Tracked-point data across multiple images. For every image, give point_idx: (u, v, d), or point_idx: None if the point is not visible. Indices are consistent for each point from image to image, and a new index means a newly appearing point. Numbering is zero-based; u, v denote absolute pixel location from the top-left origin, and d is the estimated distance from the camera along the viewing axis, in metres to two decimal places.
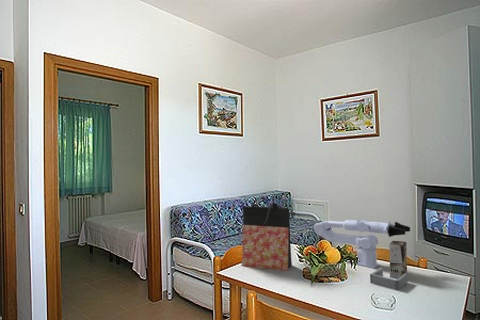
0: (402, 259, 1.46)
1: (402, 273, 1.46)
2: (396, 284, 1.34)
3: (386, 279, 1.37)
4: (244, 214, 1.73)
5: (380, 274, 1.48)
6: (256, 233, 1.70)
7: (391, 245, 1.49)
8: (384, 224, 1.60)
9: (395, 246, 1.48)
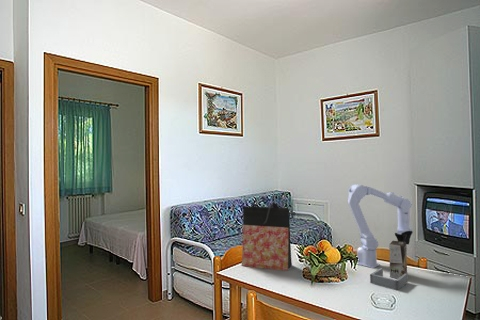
0: (402, 259, 1.46)
1: (402, 273, 1.46)
2: (396, 284, 1.34)
3: (386, 279, 1.37)
4: (244, 214, 1.73)
5: (380, 274, 1.48)
6: (256, 233, 1.70)
7: (391, 245, 1.49)
8: (407, 227, 1.64)
9: (395, 246, 1.48)
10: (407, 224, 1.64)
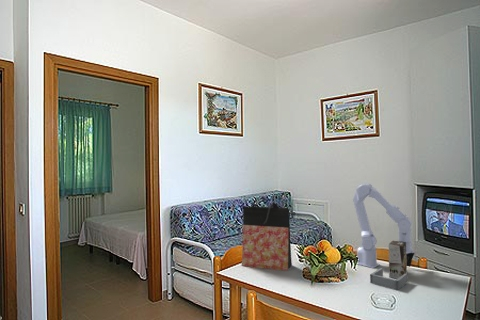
0: (401, 259, 1.46)
1: (401, 273, 1.45)
2: (396, 284, 1.34)
3: (386, 279, 1.37)
4: (244, 214, 1.73)
5: (380, 274, 1.48)
6: (256, 233, 1.70)
7: (390, 245, 1.49)
8: (409, 248, 1.55)
9: (394, 246, 1.47)
10: (409, 246, 1.55)
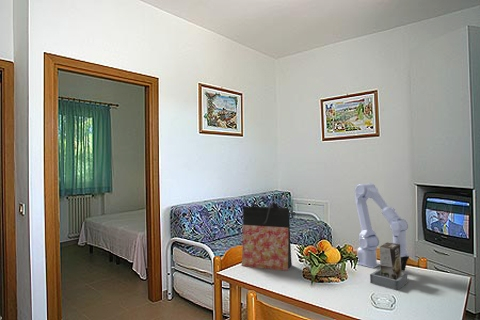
0: (392, 263, 1.41)
1: (392, 277, 1.41)
2: (396, 284, 1.34)
3: (386, 279, 1.37)
4: (244, 214, 1.73)
5: (380, 274, 1.48)
6: (256, 233, 1.70)
7: (381, 248, 1.44)
8: (403, 252, 1.49)
9: (385, 249, 1.43)
10: (403, 249, 1.49)
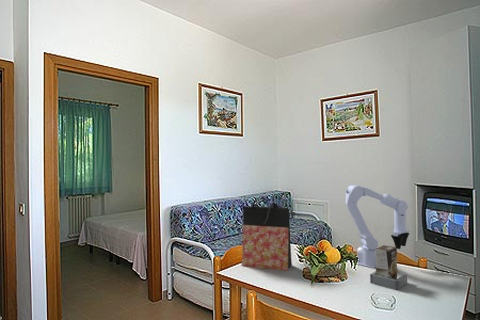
0: (388, 265, 1.38)
1: None
2: (396, 284, 1.34)
3: (386, 279, 1.37)
4: (244, 214, 1.73)
5: None
6: (256, 233, 1.70)
7: (377, 250, 1.41)
8: (403, 229, 1.64)
9: (381, 251, 1.40)
10: (403, 226, 1.64)
